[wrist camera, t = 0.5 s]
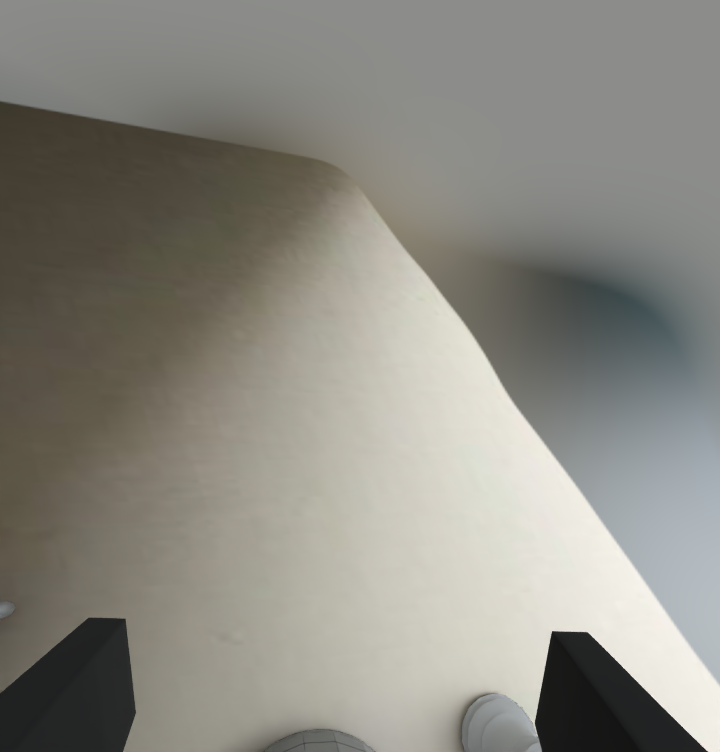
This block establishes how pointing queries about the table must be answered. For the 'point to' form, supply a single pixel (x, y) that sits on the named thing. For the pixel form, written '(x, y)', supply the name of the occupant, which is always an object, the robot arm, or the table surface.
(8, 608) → the gray elephant figurine
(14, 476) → the table surface
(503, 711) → the rook chess piece
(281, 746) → the pan
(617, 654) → the table surface
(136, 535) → the table surface
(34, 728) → the robot arm
